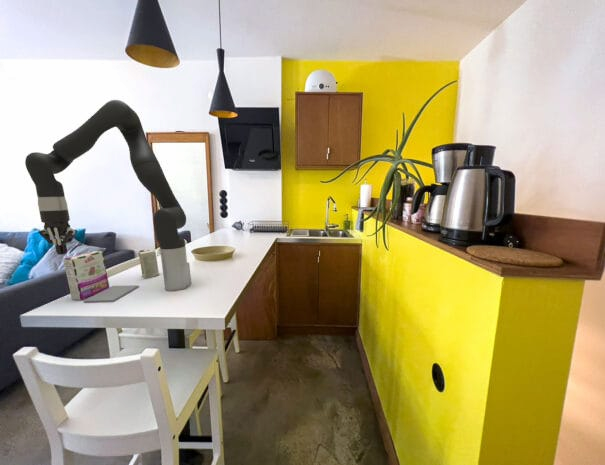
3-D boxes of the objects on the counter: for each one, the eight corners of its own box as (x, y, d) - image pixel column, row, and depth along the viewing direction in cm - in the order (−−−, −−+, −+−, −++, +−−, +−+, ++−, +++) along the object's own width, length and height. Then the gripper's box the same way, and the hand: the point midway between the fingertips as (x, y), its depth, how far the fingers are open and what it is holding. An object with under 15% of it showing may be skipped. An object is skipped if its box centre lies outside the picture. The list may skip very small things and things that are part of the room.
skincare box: (156, 273, 118) (153, 249, 116) (159, 275, 115) (156, 250, 113) (141, 276, 113) (138, 252, 111) (143, 279, 110) (140, 253, 108)
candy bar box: (100, 288, 100) (93, 250, 98) (110, 289, 99) (103, 251, 97) (70, 300, 89) (62, 258, 87) (80, 301, 89) (72, 258, 86)
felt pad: (139, 287, 101) (138, 285, 101) (113, 302, 87) (113, 300, 87) (113, 287, 101) (112, 285, 101) (83, 302, 87) (83, 300, 87)
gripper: (80, 208, 92) (88, 251, 95) (46, 208, 92) (55, 252, 95) (61, 209, 85) (70, 256, 88) (24, 210, 85) (34, 257, 88)
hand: (62, 254), depth 92 cm, fingers closed
